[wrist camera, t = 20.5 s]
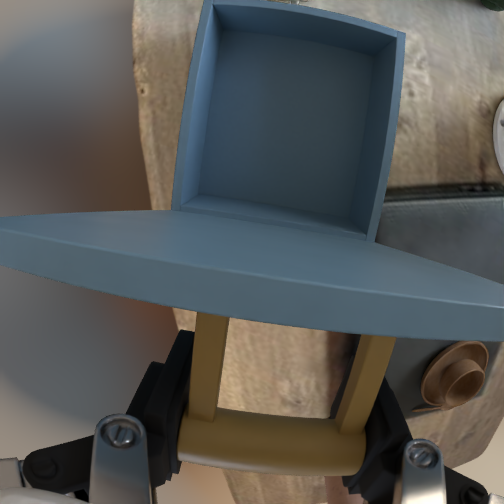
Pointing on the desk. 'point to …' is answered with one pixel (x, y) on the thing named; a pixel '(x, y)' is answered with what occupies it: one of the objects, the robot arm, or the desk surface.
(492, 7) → the toy figurine
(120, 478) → the robot arm
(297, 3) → the jug
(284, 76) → the chest
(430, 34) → the desk surface
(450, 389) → the place setting
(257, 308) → the lid
